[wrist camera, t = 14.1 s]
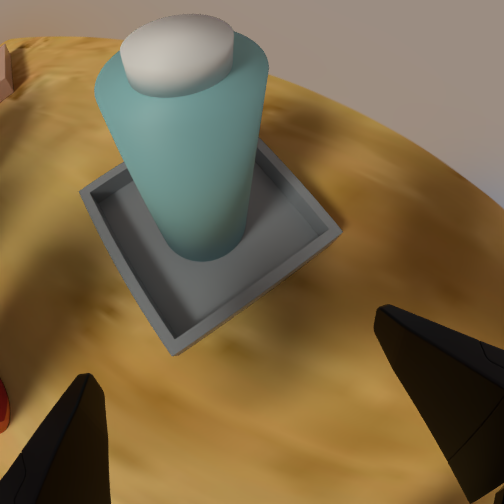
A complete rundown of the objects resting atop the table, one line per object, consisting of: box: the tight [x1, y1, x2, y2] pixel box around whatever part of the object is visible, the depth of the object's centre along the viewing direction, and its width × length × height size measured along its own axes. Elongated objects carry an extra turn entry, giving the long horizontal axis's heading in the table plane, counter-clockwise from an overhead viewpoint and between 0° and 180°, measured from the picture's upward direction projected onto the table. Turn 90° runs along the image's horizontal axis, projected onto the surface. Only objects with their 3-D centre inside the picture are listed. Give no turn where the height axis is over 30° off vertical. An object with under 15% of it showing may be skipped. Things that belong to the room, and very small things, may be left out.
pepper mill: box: [94, 14, 269, 262], centre depth 12 cm, size 5×5×12 cm
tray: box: [79, 137, 343, 356], centre depth 17 cm, size 11×11×2 cm
